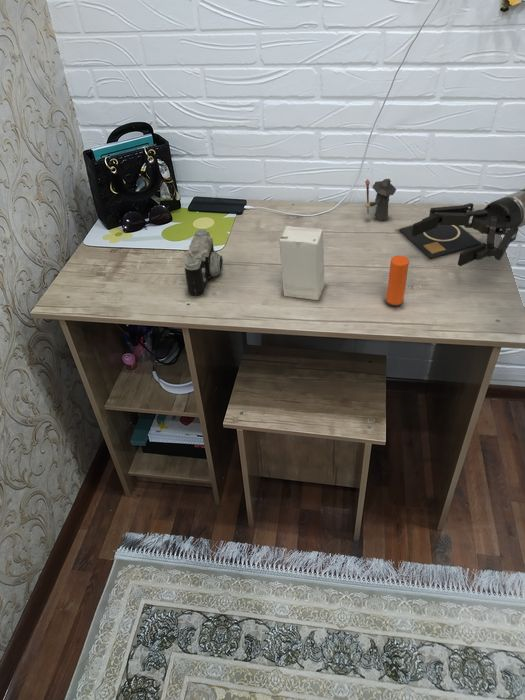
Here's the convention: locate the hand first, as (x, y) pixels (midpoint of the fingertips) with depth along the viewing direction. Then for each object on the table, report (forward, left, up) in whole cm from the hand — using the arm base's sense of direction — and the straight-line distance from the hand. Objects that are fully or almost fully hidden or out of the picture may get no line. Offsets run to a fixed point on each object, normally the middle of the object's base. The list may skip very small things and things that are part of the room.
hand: (435, 244), depth 118 cm
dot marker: (-2, +10, -11) cm, 15 cm away
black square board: (+16, -14, -11) cm, 24 cm away
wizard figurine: (+30, -4, -11) cm, 33 cm away
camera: (+24, +43, -11) cm, 51 cm away
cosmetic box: (+10, +26, -11) cm, 30 cm away
